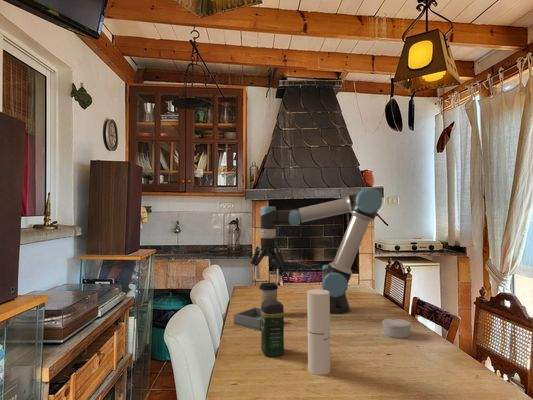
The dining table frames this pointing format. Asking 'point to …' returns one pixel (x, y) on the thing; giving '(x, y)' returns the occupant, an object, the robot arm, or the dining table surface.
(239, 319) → the tray
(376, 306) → the dining table surface
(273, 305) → the coffee jar
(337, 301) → the robot arm
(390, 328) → the ramekin
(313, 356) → the cylindrical container
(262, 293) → the coffee cup
